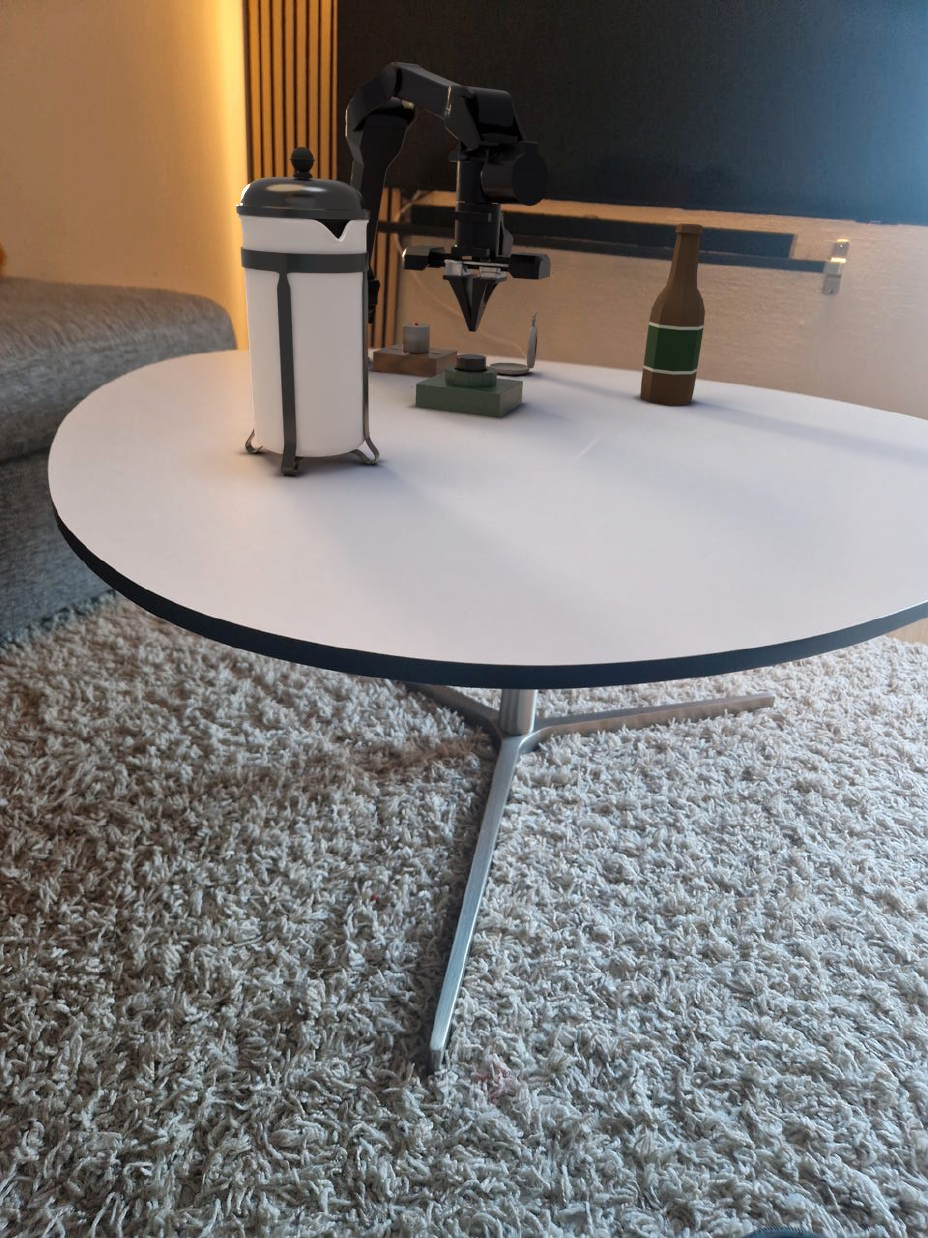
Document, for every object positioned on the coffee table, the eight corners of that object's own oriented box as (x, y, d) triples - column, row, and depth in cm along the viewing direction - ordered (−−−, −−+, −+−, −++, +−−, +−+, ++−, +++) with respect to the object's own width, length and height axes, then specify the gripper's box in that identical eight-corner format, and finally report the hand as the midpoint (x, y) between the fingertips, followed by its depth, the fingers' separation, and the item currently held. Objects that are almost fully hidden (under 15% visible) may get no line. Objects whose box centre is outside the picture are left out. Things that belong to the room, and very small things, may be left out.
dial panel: (373, 370, 144) (372, 350, 143) (396, 362, 152) (396, 343, 150) (436, 378, 141) (436, 357, 139) (456, 369, 148) (457, 349, 147)
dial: (431, 353, 143) (431, 325, 141) (403, 352, 143) (404, 324, 141) (427, 348, 147) (428, 321, 145) (400, 348, 146) (401, 320, 145)
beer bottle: (688, 396, 136) (714, 224, 126) (695, 407, 129) (723, 226, 119) (637, 393, 137) (658, 221, 126) (641, 404, 130) (664, 223, 119)
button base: (415, 407, 122) (416, 369, 120) (443, 394, 130) (444, 358, 128) (498, 418, 118) (500, 379, 116) (521, 403, 126) (524, 367, 124)
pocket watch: (482, 369, 149) (485, 306, 145) (526, 367, 153) (530, 305, 148) (504, 378, 143) (508, 312, 138) (550, 376, 146) (555, 312, 142)
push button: (452, 372, 121) (452, 356, 120) (462, 367, 124) (463, 352, 124) (479, 375, 120) (480, 359, 119) (489, 370, 123) (490, 355, 122)
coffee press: (402, 446, 103) (405, 153, 90) (350, 484, 89) (345, 144, 76) (265, 430, 107) (250, 147, 94) (194, 464, 93) (164, 138, 80)
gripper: (566, 206, 117) (556, 330, 124) (435, 199, 123) (432, 318, 130) (542, 206, 108) (532, 341, 114) (401, 199, 113) (399, 327, 120)
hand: (472, 331), depth 120 cm, fingers closed
